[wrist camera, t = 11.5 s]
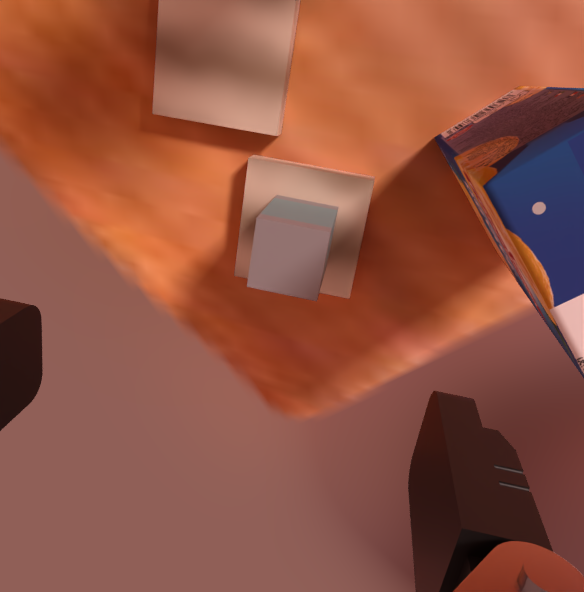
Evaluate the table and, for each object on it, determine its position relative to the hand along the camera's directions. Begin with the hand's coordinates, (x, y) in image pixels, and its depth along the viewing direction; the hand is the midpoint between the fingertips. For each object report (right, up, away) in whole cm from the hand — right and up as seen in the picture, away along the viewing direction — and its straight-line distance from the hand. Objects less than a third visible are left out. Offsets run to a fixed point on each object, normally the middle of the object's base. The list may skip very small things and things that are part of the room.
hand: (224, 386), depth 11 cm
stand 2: (+2, +8, +36) cm, 37 cm away
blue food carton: (+18, +11, +32) cm, 39 cm away
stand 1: (-4, +20, +32) cm, 38 cm away
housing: (+2, +7, +34) cm, 35 cm away
